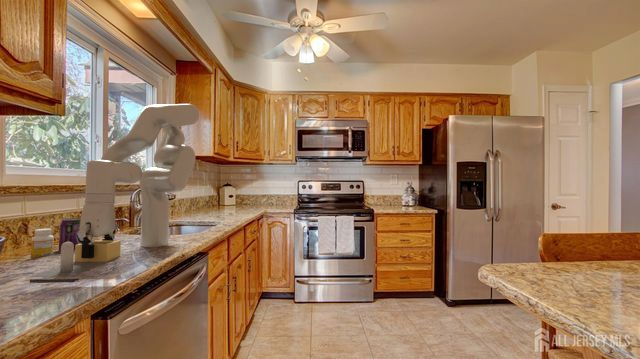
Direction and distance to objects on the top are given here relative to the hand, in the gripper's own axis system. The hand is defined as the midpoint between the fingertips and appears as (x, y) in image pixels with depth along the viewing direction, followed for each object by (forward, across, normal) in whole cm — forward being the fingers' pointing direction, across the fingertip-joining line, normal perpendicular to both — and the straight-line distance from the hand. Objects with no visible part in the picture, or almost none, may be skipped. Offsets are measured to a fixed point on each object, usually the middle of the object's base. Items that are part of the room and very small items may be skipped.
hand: (98, 254), depth 92 cm
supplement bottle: (+3, -6, -21) cm, 22 cm away
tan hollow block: (+1, 0, 0) cm, 1 cm away
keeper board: (+3, +6, 0) cm, 7 cm away
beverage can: (+3, -16, -19) cm, 25 cm away
